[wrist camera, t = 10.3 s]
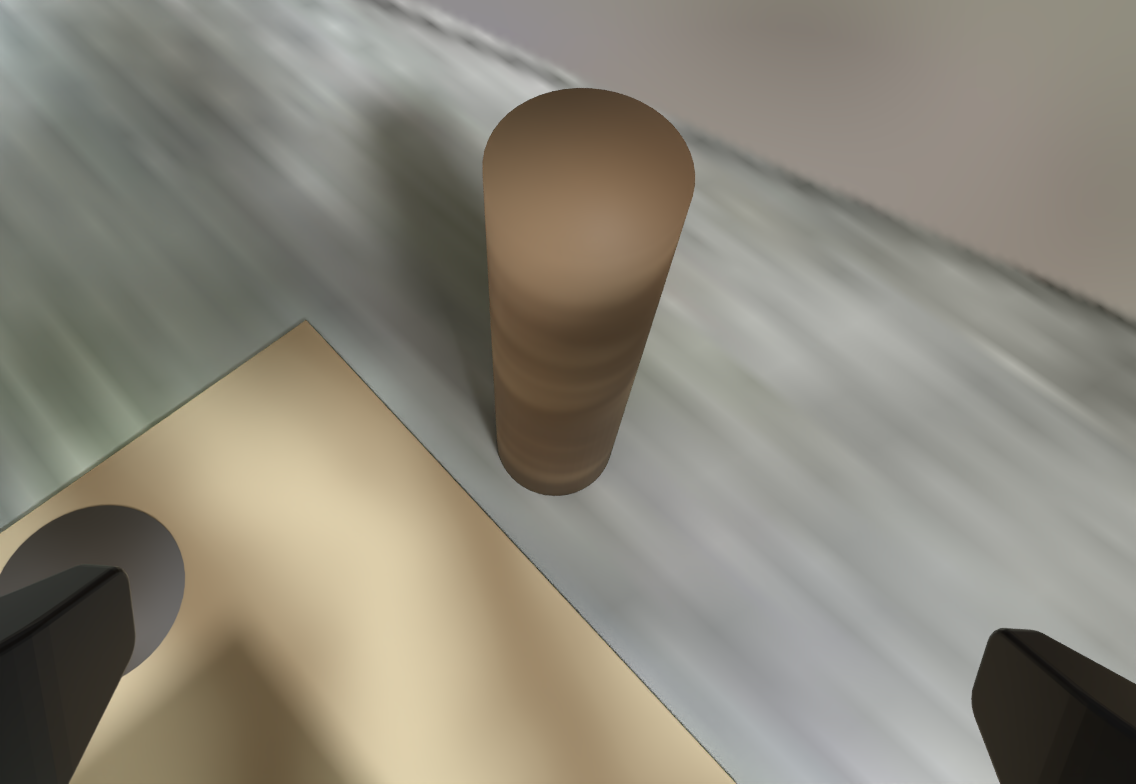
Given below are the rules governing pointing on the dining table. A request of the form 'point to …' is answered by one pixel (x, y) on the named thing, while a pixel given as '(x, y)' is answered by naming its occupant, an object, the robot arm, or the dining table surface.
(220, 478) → the board
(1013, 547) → the dining table surface
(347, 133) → the dining table surface
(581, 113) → the peg
